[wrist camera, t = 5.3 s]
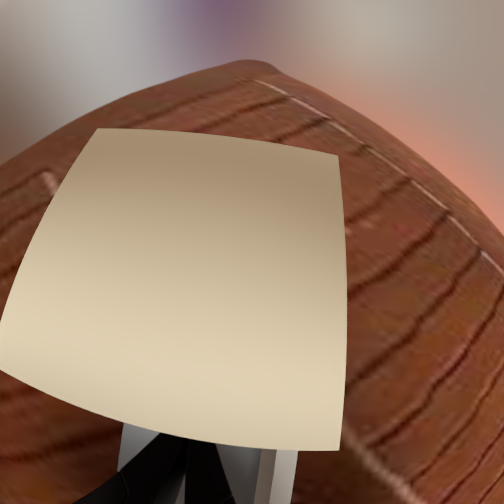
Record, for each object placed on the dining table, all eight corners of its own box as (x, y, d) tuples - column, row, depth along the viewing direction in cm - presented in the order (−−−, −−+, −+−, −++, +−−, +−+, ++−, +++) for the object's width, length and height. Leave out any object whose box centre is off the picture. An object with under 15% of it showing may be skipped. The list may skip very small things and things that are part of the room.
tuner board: (259, 552, 10) (274, 598, 5) (120, 527, 10) (85, 562, 5) (292, 290, 18) (316, 244, 14) (165, 270, 18) (148, 218, 14)
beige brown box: (289, 430, 13) (482, 461, 2) (159, 411, 13) (-26, 393, 2) (298, 337, 15) (440, 168, 5) (177, 319, 15) (101, 112, 5)
